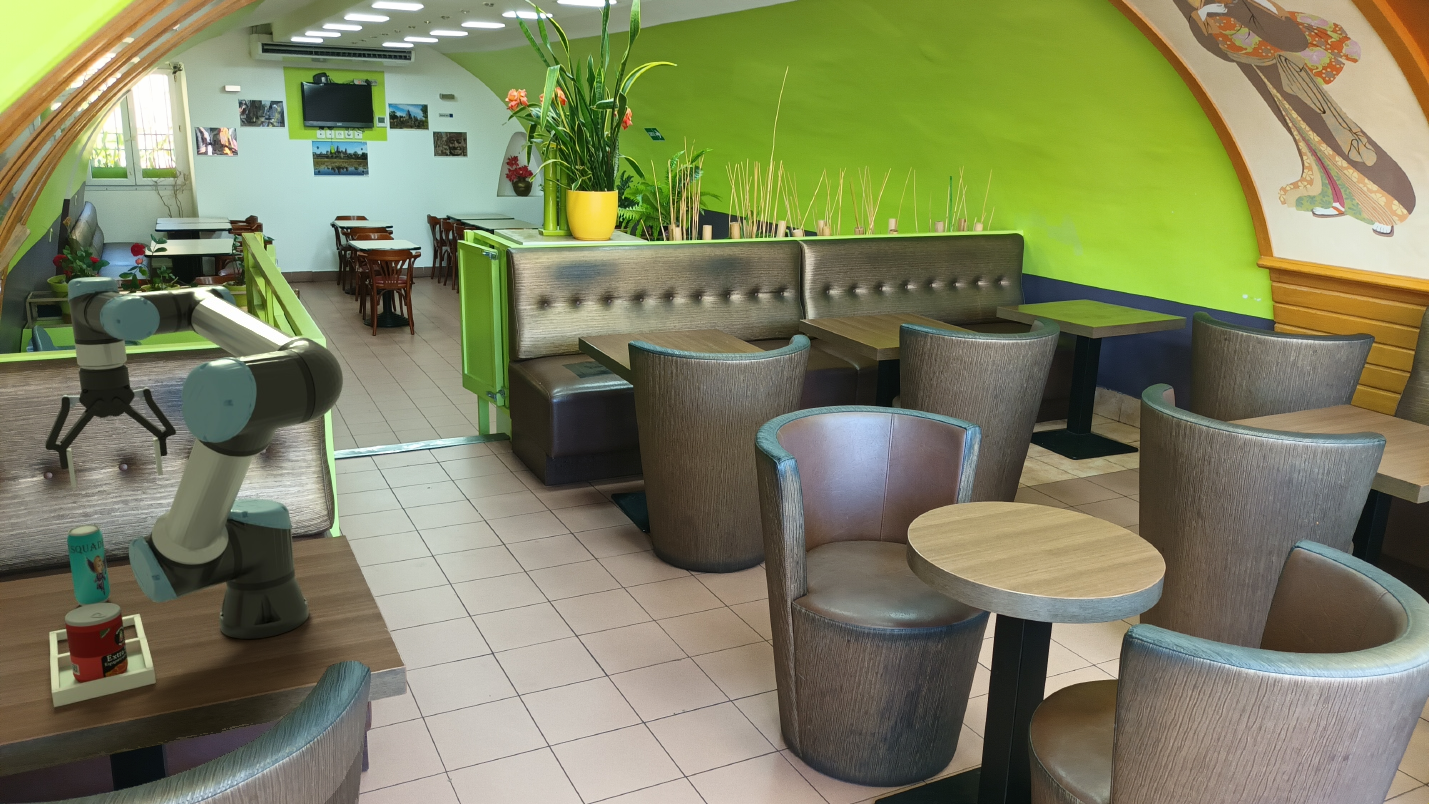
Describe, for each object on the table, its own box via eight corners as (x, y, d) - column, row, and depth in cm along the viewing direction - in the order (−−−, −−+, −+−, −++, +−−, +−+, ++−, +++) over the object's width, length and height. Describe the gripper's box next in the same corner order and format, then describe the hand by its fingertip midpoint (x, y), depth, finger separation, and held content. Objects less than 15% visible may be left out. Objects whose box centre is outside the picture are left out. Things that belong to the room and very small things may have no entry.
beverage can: (94, 609, 189) (84, 535, 186) (69, 606, 190) (58, 533, 187) (118, 597, 195) (108, 525, 191) (93, 594, 196) (82, 522, 192)
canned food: (114, 684, 161) (105, 622, 158) (63, 685, 160) (53, 623, 158) (138, 661, 168) (130, 601, 166) (89, 662, 168) (80, 602, 165)
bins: (155, 682, 163) (154, 668, 162) (54, 707, 155) (51, 692, 155) (140, 621, 185) (138, 608, 184) (50, 639, 177) (48, 627, 176)
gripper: (179, 355, 186) (191, 463, 191) (17, 368, 173) (35, 484, 177) (184, 361, 180) (196, 473, 185) (17, 376, 167) (35, 496, 171)
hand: (117, 479), depth 181 cm, fingers open, 13 cm apart
